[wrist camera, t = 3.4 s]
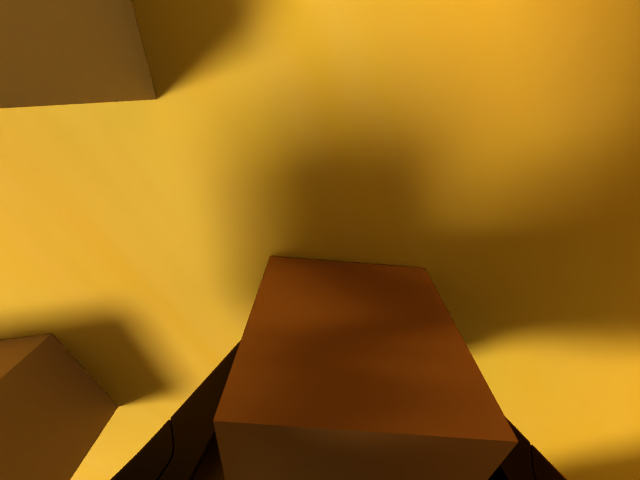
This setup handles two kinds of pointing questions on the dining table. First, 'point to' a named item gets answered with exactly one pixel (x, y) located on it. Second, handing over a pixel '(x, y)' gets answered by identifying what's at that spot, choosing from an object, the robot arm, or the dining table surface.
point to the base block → (71, 53)
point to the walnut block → (355, 382)
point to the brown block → (46, 410)
